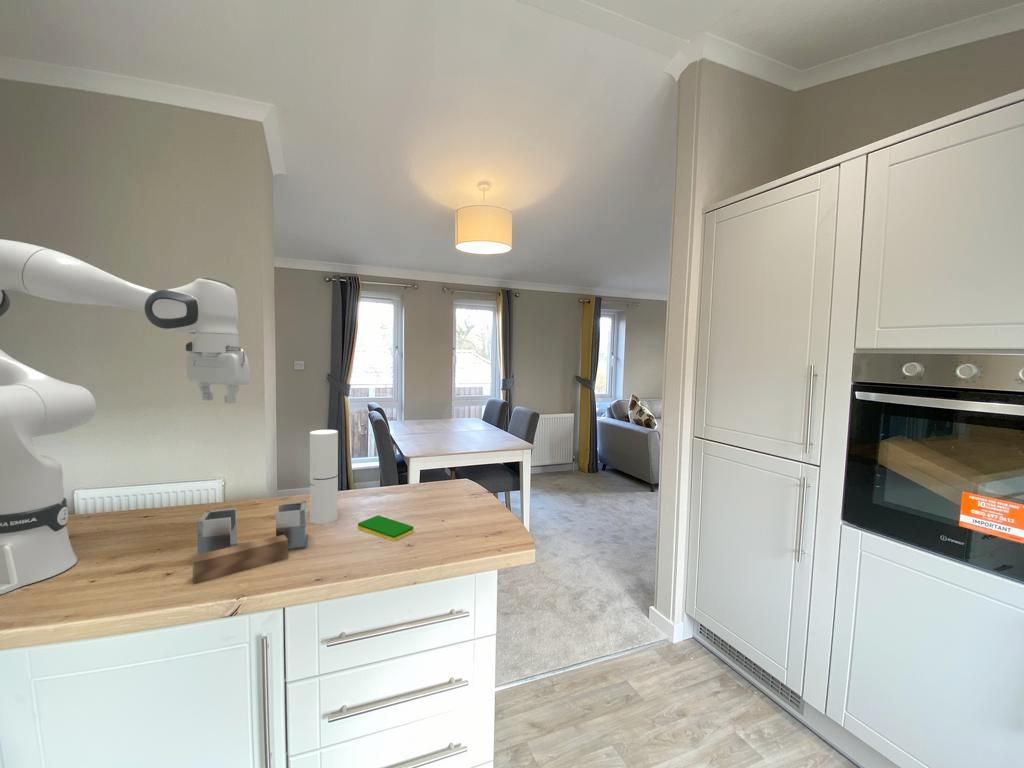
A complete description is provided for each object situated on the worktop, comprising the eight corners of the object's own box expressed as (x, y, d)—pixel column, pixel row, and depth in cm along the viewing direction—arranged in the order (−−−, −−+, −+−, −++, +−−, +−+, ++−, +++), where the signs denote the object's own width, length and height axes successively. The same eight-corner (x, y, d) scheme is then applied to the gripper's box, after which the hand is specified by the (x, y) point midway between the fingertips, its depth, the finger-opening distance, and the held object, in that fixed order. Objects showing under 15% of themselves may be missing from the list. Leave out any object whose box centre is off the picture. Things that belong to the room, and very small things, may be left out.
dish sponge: (393, 545, 105) (394, 535, 105) (357, 531, 112) (357, 523, 112) (414, 535, 111) (414, 526, 111) (378, 523, 119) (378, 514, 118)
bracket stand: (195, 565, 92) (194, 522, 92) (204, 551, 99) (203, 511, 98) (307, 549, 101) (307, 510, 100) (308, 537, 107) (308, 500, 107)
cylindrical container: (327, 526, 115) (327, 435, 113) (304, 523, 116) (303, 433, 114) (343, 516, 122) (343, 430, 120) (321, 513, 123) (320, 429, 121)
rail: (194, 586, 84) (194, 562, 84) (192, 579, 87) (192, 555, 87) (288, 561, 96) (287, 539, 95) (284, 555, 98) (284, 534, 98)
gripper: (256, 346, 102) (257, 403, 103) (207, 345, 111) (208, 397, 112) (230, 346, 97) (231, 405, 98) (180, 344, 106) (181, 399, 107)
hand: (218, 401), depth 105 cm, fingers open, 8 cm apart
